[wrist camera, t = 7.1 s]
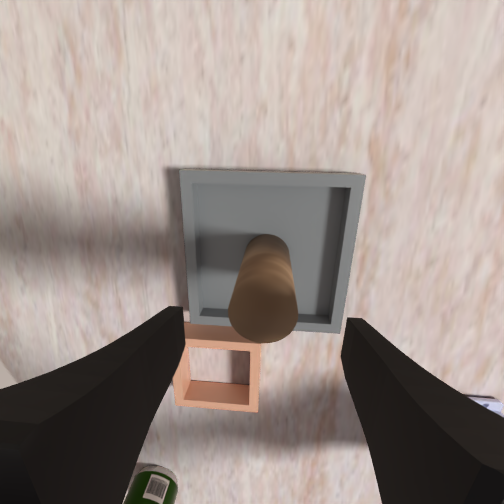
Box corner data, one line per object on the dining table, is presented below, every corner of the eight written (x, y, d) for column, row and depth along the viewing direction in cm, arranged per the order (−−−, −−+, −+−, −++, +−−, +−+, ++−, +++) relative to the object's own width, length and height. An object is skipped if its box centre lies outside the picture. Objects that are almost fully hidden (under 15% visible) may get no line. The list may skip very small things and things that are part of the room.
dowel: (292, 237, 20) (303, 288, 12) (285, 278, 21) (292, 347, 13) (247, 231, 20) (230, 278, 12) (243, 272, 21) (225, 338, 13)
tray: (357, 173, 18) (366, 174, 17) (335, 320, 22) (340, 333, 21) (187, 168, 19) (179, 169, 17) (196, 311, 23) (190, 323, 22)
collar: (261, 327, 23) (260, 344, 21) (259, 392, 26) (257, 412, 24) (177, 321, 24) (168, 337, 22) (183, 385, 26) (175, 405, 24)
